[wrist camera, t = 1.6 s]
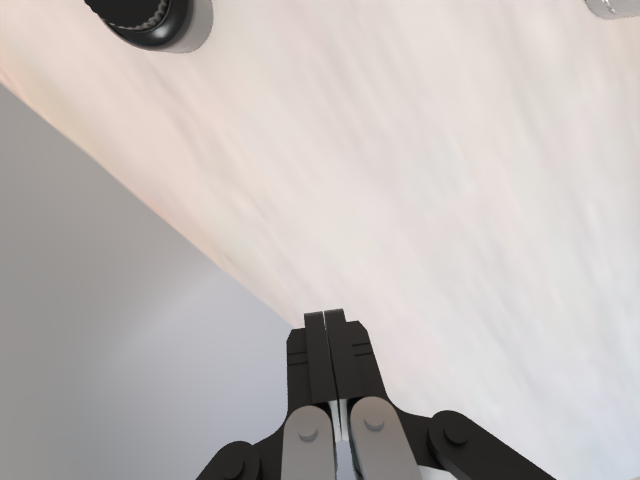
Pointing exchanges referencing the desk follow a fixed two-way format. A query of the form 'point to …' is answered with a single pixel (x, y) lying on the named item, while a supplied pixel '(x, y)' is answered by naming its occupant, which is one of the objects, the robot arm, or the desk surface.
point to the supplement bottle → (157, 22)
